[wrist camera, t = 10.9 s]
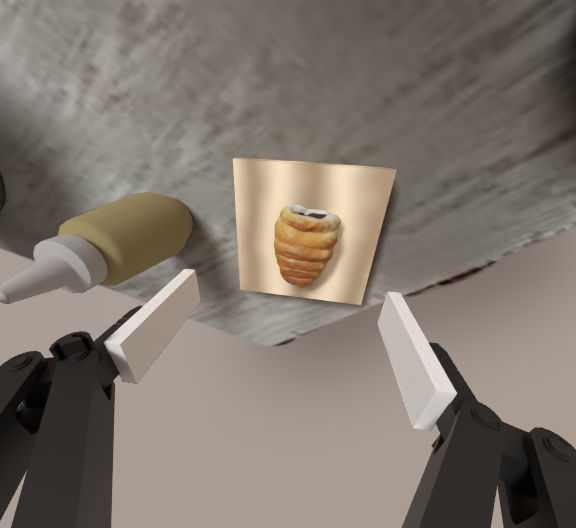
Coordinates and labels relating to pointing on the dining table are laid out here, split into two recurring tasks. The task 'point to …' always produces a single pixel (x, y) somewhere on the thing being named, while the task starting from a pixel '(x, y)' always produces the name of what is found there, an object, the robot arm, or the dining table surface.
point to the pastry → (304, 243)
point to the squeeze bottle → (104, 246)
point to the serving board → (312, 195)
